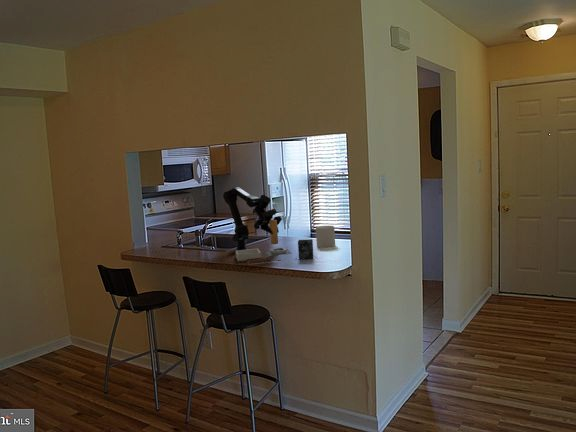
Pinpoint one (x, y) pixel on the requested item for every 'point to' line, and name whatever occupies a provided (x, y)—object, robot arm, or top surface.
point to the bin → (247, 254)
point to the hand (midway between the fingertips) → (275, 233)
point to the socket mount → (278, 251)
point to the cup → (325, 236)
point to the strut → (274, 229)
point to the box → (305, 249)
